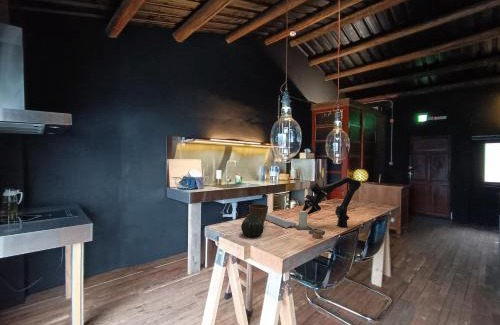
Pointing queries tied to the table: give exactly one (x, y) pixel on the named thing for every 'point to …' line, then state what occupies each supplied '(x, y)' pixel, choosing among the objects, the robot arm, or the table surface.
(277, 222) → the decorative molding
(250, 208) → the plant pot
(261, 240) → the table surface
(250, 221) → the squash
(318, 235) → the walnut offcut stack
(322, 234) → the offcut rack
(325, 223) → the table surface
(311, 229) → the rubber mat
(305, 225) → the sage plank
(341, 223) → the robot arm
